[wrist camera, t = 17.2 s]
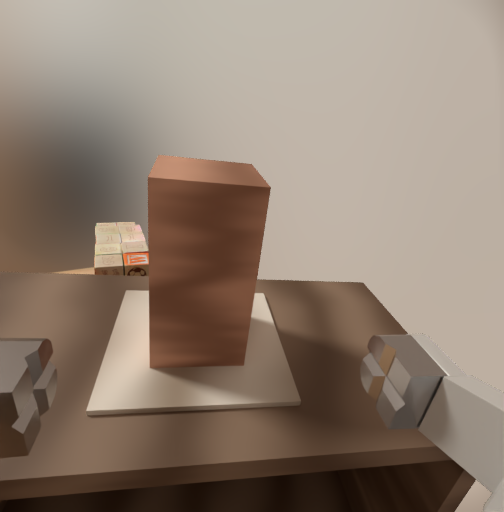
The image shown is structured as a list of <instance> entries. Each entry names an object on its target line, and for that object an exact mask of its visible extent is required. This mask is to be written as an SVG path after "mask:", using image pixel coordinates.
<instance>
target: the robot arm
mask: <svg viewBox="0 0 504 512" xmlns="http://www.w3.org/2000/svg"><path fill="white" fill-rule="evenodd" d="M367 347H368V350H369V352H370V353H369V354H368V355H367V356H366V357H364V358H363V360H362V364H361V367H360V375H361V381H362V384H363V387H364V388H365V390H366V392H367V394H369V395H370V396H371V397H373V398H374V399H376V400H377V401H376V407H375V408H376V409H377V411H378V413H379V414H380V416H381V418H382V419H383V421H384V423H385V425H386V426H387V428H388V430H389V429H414V428H419V429H418V430H419V431H420V432H421V433H422V434H423V435H424V436H426V437H427V438H428V439H429V440H430V441H432V442H433V443H434V444H435V445H436V446H437V447H439V448H440V449H441V450H442V451H443V452H445V453H446V454H447V455H448V456H449V457H450V458H452V459H453V460H454V461H455V462H456V463H457V464H459V465H460V466H461V467H462V468H463V469H465V470H466V471H467V472H468V473H469V474H470V475H472V476H473V477H474V478H475V479H476V480H478V481H479V482H480V483H481V484H482V485H483V486H485V487H486V488H487V489H488V490H489V491H491V492H492V495H491V496H490V498H489V499H488V500H487V502H486V503H485V505H484V509H483V512H504V392H502V391H500V390H498V389H497V388H495V387H493V386H491V385H489V384H487V383H485V382H483V381H482V380H480V379H478V378H476V377H474V376H467V375H466V374H465V373H464V372H463V371H462V370H461V369H460V368H459V367H458V366H457V365H456V364H455V363H454V362H453V361H452V360H451V359H450V358H449V357H448V356H447V355H446V354H445V353H444V352H443V351H442V349H441V348H440V347H438V345H437V344H436V343H435V342H434V341H433V340H432V339H431V338H430V337H429V336H427V335H425V334H406V335H373V336H372V337H371V338H370V340H369V343H368V345H367ZM52 354H53V348H52V343H51V341H50V340H49V339H47V338H0V458H10V457H20V456H29V453H30V451H31V449H32V447H33V445H34V442H35V440H36V438H37V436H38V434H39V431H40V429H41V427H42V426H41V421H40V416H41V415H43V414H44V413H45V412H46V411H48V410H49V409H50V407H51V404H52V402H53V400H54V397H55V392H56V388H57V370H56V367H55V366H54V365H53V364H52V363H51V362H50V361H49V360H50V358H51V356H52Z"/></svg>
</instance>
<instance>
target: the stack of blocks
mask: <svg viewBox="0 0 504 512" xmlns="http://www.w3.org/2000/svg"><path fill="white" fill-rule="evenodd" d="M95 238H96V245H95V261H94V270H95V275H123V276H149V250H148V247H147V244H146V240H145V237H144V235H143V233H142V230H141V227H140V225H135V223H134V222H117V223H96V227H95Z"/></svg>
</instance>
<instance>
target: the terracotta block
mask: <svg viewBox="0 0 504 512" xmlns="http://www.w3.org/2000/svg"><path fill="white" fill-rule="evenodd" d="M270 189H271V187H270V186H269V185H268V184H267V183H266V181H265V180H264V179H263V177H262V176H261V175H260V174H259V173H258V171H257V170H256V169H255V168H254V167H253V165H252V164H244V163H235V162H224V161H215V160H204V159H194V158H184V157H173V156H164V155H159V156H158V158H157V160H156V162H155V164H154V166H153V168H152V170H151V172H150V174H149V176H148V231H149V232H148V237H149V238H148V241H149V354H150V368H170V367H209V366H244V361H245V354H246V348H247V341H248V334H249V328H250V321H251V315H252V308H253V301H254V295H255V288H256V281H257V275H258V268H259V262H260V255H261V248H262V241H263V235H264V228H265V221H266V214H267V208H268V202H269V195H270Z"/></svg>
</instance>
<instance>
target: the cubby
mask: <svg viewBox="0 0 504 512" xmlns="http://www.w3.org/2000/svg"><path fill="white" fill-rule="evenodd" d="M406 334H408V333H407V332H406V331H405V330H404V329H403V328H402V326H401V325H400V324H399V323H398V322H397V321H396V320H395V318H394V317H393V316H392V315H391V314H390V313H389V312H388V311H387V309H386V308H385V307H384V306H383V305H382V304H381V303H380V302H379V300H378V299H377V298H376V297H375V296H374V295H373V294H372V292H370V290H369V289H368V288H367V287H366V286H365V284H364V283H358V282H323V281H322V282H321V281H291V280H290V281H289V280H257V281H256V288H255V295H254V301H253V308H252V315H251V321H250V328H249V334H248V341H247V348H246V354H245V361H244V366H209V367H170V368H150V354H149V276H123V275H89V274H56V273H22V272H21V273H20V272H0V338H47V339H49V340H50V341H51V343H52V348H53V354H52V356H51V358H50V360H49V361H50V362H51V363H52V364H53V365H54V366H55V367H56V370H57V388H56V392H55V397H54V400H53V402H52V404H51V407H50V409H49V410H48V411H46V412H45V413H44V414H43V415H41V416H40V421H41V426H42V427H41V429H40V431H39V434H38V436H37V438H36V440H35V442H34V445H33V447H32V449H31V451H30V453H29V456H20V457H10V458H0V512H454V511H455V510H456V508H457V507H458V506H459V504H460V503H461V501H462V500H463V498H464V497H465V495H466V494H467V492H468V491H469V489H470V488H471V486H472V485H473V483H474V482H475V480H476V479H475V478H474V477H473V476H472V475H470V474H469V473H468V472H467V471H466V470H465V469H463V468H462V467H461V466H460V465H459V464H457V463H456V462H455V461H454V460H453V459H452V458H450V457H449V456H448V455H447V454H446V453H445V452H443V451H442V450H441V449H440V448H439V447H437V446H436V445H435V444H434V443H433V442H432V441H430V440H429V439H428V438H427V437H426V436H424V435H423V434H422V433H421V432H420V431H419V430H418V429H419V428H414V429H389V430H388V428H387V426H386V425H385V423H384V421H383V419H382V418H381V416H380V414H379V413H378V411H377V409H376V408H375V407H376V401H377V400H376V399H374V398H373V397H371V396H370V395H369V394H367V392H366V390H365V388H364V387H363V384H362V381H361V375H360V367H361V364H362V360H363V358H364V357H366V356H367V355H368V354H369V353H370V352H369V350H368V347H367V345H368V343H369V340H370V338H371V337H372V336H373V335H406Z"/></svg>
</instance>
